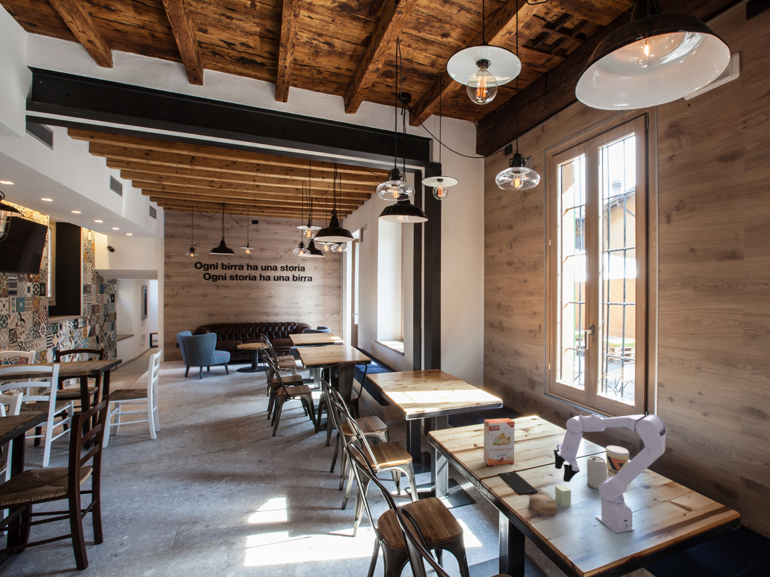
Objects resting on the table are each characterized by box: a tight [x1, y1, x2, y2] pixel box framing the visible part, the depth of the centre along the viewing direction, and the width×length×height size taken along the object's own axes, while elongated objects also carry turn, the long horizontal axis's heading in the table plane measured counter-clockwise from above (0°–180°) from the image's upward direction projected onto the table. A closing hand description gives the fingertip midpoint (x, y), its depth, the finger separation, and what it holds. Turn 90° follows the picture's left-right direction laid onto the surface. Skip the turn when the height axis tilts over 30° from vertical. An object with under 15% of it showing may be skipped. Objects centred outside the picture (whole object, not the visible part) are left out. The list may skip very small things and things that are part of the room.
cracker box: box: [483, 417, 515, 466], centre depth 183 cm, size 14×6×21 cm, turn 102°
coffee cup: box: [605, 445, 630, 477], centre depth 171 cm, size 9×9×12 cm
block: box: [554, 484, 572, 507], centre depth 147 cm, size 4×4×6 cm
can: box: [586, 455, 608, 490], centre depth 161 cm, size 8×8×12 cm
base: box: [528, 493, 558, 516], centre depth 144 cm, size 10×10×3 cm
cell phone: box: [497, 471, 538, 496], centre depth 163 cm, size 9×18×1 cm, turn 12°
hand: (561, 474), depth 149 cm, fingers open, 7 cm apart
